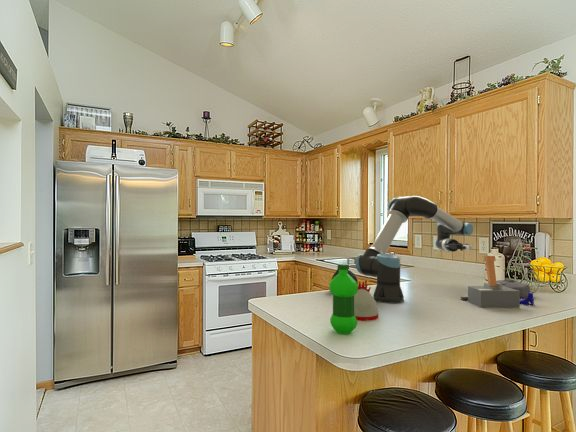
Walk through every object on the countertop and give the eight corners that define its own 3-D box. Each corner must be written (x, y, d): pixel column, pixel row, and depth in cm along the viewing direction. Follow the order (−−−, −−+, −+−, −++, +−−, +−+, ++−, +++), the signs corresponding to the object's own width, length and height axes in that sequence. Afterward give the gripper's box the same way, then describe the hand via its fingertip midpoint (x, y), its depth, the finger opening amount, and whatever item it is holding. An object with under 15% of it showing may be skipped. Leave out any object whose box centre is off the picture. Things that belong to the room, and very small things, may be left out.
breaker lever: (490, 287, 165) (486, 255, 168) (486, 287, 168) (483, 256, 171) (498, 287, 165) (495, 255, 168) (495, 287, 168) (491, 256, 171)
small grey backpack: (533, 296, 186) (493, 290, 202) (533, 280, 187) (493, 276, 202) (523, 300, 177) (482, 293, 192) (523, 284, 177) (482, 278, 193)
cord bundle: (463, 300, 175) (463, 297, 175) (460, 299, 178) (460, 296, 178) (504, 300, 175) (504, 298, 175) (500, 299, 178) (500, 296, 178)
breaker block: (481, 307, 160) (480, 285, 161) (468, 301, 172) (467, 281, 173) (519, 307, 160) (519, 285, 160) (503, 301, 172) (503, 281, 172)
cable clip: (533, 304, 168) (533, 292, 168) (532, 306, 164) (532, 293, 164) (505, 300, 176) (505, 289, 176) (503, 302, 172) (503, 290, 172)
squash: (363, 284, 189) (355, 262, 199) (338, 287, 186) (331, 264, 196) (356, 297, 200) (348, 275, 209) (332, 300, 196) (325, 277, 206)
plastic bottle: (331, 326, 133) (331, 262, 133) (359, 328, 130) (358, 263, 130) (327, 334, 123) (326, 265, 123) (356, 337, 120) (356, 266, 120)
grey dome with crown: (343, 311, 154) (343, 278, 155) (374, 312, 154) (374, 278, 154) (348, 320, 140) (347, 284, 141) (381, 321, 140) (381, 284, 140)
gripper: (461, 251, 211) (482, 254, 187) (439, 251, 211) (458, 255, 187) (461, 238, 211) (482, 241, 187) (439, 239, 211) (458, 241, 187)
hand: (470, 248), depth 187 cm, fingers closed
